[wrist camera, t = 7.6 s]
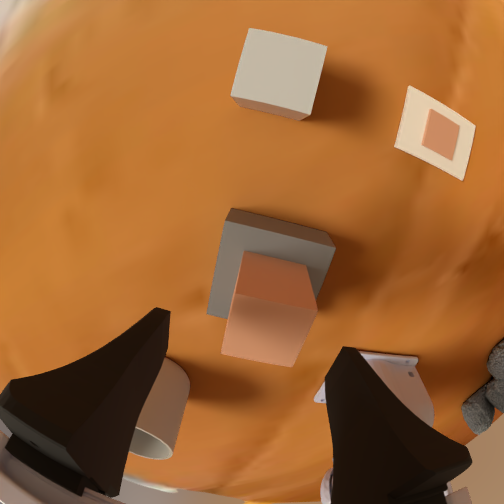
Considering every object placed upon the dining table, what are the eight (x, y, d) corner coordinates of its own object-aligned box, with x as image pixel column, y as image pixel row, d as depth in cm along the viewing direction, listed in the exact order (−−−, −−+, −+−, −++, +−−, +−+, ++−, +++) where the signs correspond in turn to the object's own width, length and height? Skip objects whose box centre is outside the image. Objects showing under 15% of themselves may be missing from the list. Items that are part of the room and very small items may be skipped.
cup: (179, 403, 29) (161, 465, 20) (103, 364, 27) (71, 421, 19) (201, 372, 26) (183, 446, 18) (113, 326, 25) (71, 390, 16)
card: (473, 125, 15) (477, 126, 15) (460, 180, 17) (464, 181, 17) (408, 86, 15) (411, 85, 14) (394, 147, 17) (397, 147, 16)
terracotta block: (287, 315, 19) (292, 367, 14) (231, 303, 19) (220, 353, 14) (306, 265, 17) (318, 310, 13) (244, 250, 17) (235, 293, 13)
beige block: (312, 68, 15) (327, 46, 11) (299, 120, 17) (310, 114, 12) (253, 54, 15) (249, 27, 10) (239, 106, 17) (230, 95, 12)
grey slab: (326, 232, 20) (336, 248, 17) (298, 311, 22) (301, 334, 20) (231, 208, 19) (225, 220, 17) (213, 292, 22) (206, 313, 19)
